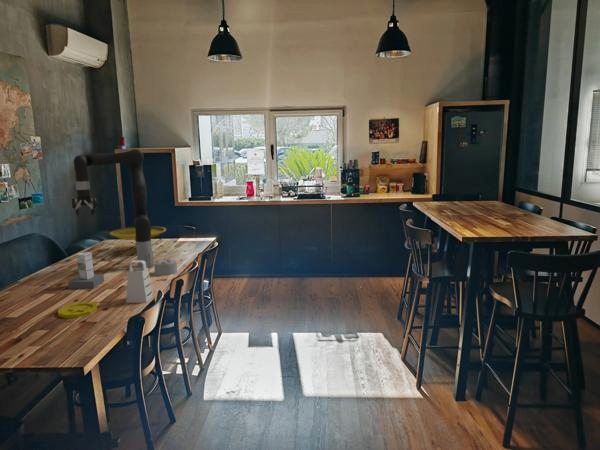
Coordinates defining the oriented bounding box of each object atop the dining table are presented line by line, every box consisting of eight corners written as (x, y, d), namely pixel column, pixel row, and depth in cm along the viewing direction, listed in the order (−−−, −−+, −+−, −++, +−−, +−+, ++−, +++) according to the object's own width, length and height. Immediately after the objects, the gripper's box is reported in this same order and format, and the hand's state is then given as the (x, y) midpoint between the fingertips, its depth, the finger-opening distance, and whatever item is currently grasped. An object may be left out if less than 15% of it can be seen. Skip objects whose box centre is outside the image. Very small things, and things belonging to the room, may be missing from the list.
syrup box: (94, 276, 268) (92, 252, 266) (86, 279, 263) (84, 254, 260) (86, 276, 270) (83, 251, 267) (78, 279, 264) (76, 253, 262)
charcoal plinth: (104, 280, 274) (103, 274, 273) (93, 288, 260) (93, 281, 259) (80, 281, 274) (79, 274, 273) (68, 288, 260) (68, 281, 259)
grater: (133, 295, 247) (130, 258, 243) (153, 295, 246) (151, 258, 243) (126, 302, 236) (122, 264, 233) (146, 302, 236) (143, 264, 232)
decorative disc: (57, 321, 213) (57, 317, 213) (59, 309, 229) (59, 305, 229) (97, 315, 220) (97, 311, 220) (96, 303, 236) (96, 300, 236)
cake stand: (179, 248, 356) (178, 228, 353) (135, 259, 322) (133, 238, 320) (143, 242, 377) (142, 224, 374) (99, 253, 344) (97, 233, 341)
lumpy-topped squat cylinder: (156, 271, 292) (155, 258, 291) (177, 270, 295) (176, 256, 293) (154, 276, 282) (153, 262, 281) (176, 274, 285) (175, 260, 283)
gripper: (97, 187, 287) (99, 214, 290) (74, 188, 287) (76, 214, 290) (92, 189, 280) (94, 216, 282) (68, 189, 280) (71, 216, 282)
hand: (85, 215), depth 286 cm, fingers open, 8 cm apart
